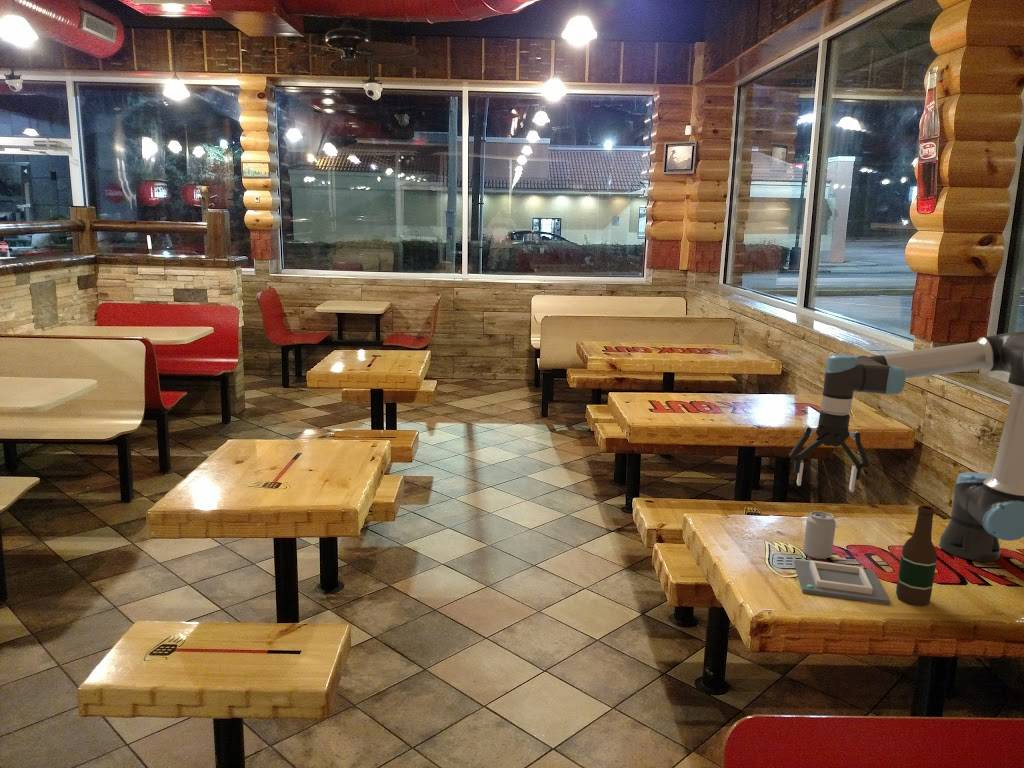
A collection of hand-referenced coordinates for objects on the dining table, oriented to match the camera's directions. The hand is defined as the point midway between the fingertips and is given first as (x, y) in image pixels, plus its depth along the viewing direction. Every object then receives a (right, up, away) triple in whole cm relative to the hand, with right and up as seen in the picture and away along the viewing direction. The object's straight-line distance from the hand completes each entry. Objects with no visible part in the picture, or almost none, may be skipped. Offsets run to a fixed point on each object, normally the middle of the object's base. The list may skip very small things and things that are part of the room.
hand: (824, 487), depth 212 cm
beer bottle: (+13, -25, -20) cm, 35 cm away
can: (-1, -20, +4) cm, 20 cm away
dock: (-2, -23, -13) cm, 26 cm away
